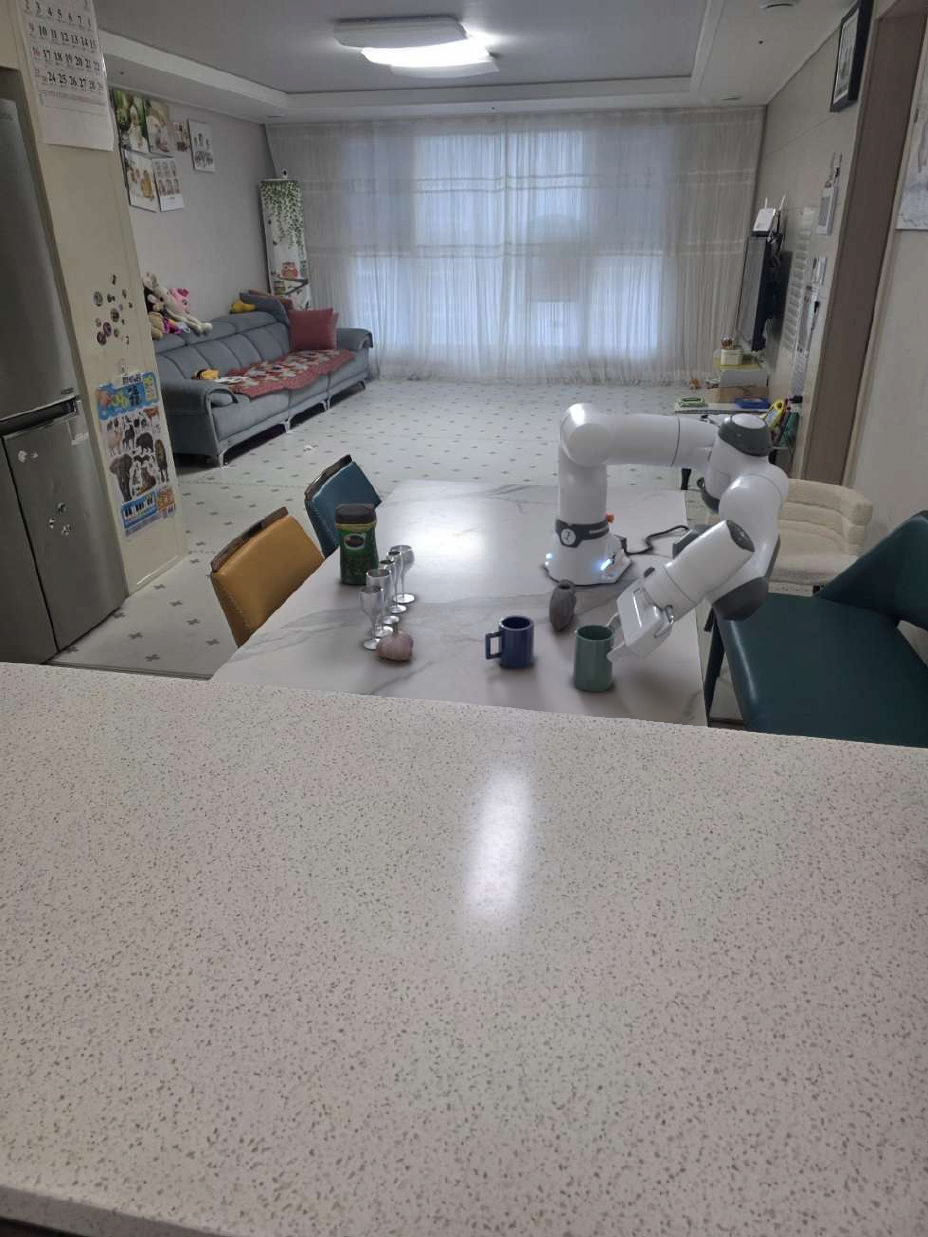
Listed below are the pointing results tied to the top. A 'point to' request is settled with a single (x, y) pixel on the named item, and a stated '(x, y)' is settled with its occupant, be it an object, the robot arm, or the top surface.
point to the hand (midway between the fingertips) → (606, 645)
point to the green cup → (593, 657)
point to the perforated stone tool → (562, 604)
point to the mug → (512, 642)
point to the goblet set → (386, 590)
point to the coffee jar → (356, 541)
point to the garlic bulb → (395, 644)
